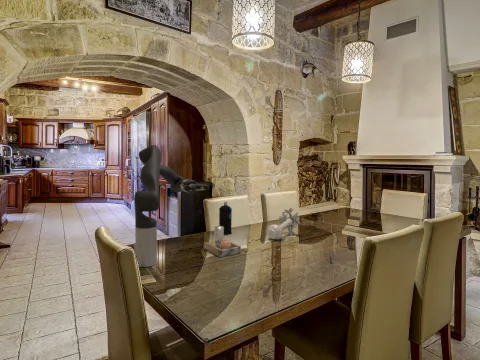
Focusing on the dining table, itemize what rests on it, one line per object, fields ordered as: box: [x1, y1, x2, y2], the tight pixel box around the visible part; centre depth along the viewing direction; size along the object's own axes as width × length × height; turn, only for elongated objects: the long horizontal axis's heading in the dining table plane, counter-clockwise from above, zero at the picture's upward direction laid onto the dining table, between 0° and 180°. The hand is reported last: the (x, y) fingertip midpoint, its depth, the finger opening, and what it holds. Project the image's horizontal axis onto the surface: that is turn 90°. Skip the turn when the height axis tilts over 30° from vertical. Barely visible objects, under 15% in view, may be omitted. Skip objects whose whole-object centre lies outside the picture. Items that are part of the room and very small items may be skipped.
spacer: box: [221, 239, 231, 250], centre depth 162 cm, size 5×5×6 cm
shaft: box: [213, 225, 225, 249], centre depth 167 cm, size 5×5×12 cm
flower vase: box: [267, 207, 301, 241], centre depth 195 cm, size 13×18×25 cm
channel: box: [203, 238, 242, 258], centre depth 165 cm, size 12×16×4 cm
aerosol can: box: [218, 201, 233, 236], centre depth 201 cm, size 8×8×20 cm
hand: (201, 188), depth 174 cm, fingers open, 8 cm apart
